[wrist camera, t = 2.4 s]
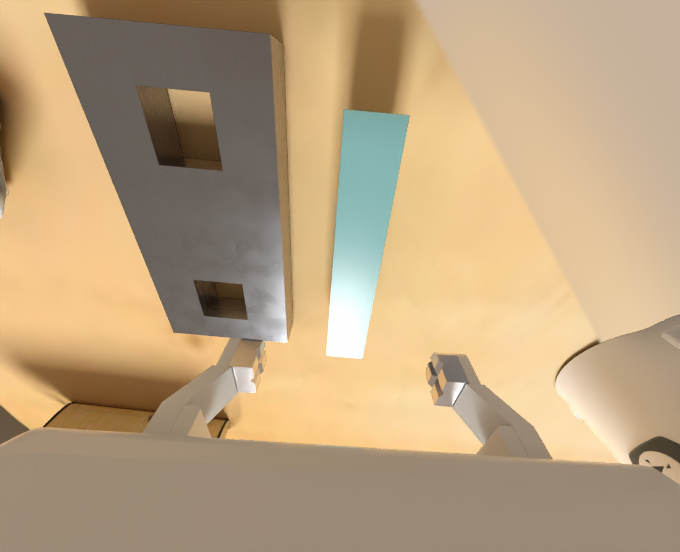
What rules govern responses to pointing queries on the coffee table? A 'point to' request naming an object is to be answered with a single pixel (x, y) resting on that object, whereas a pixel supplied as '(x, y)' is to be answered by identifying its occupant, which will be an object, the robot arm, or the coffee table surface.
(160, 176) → the hole plate
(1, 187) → the lucky cat figurine
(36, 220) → the coffee table surface
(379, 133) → the peg strip
